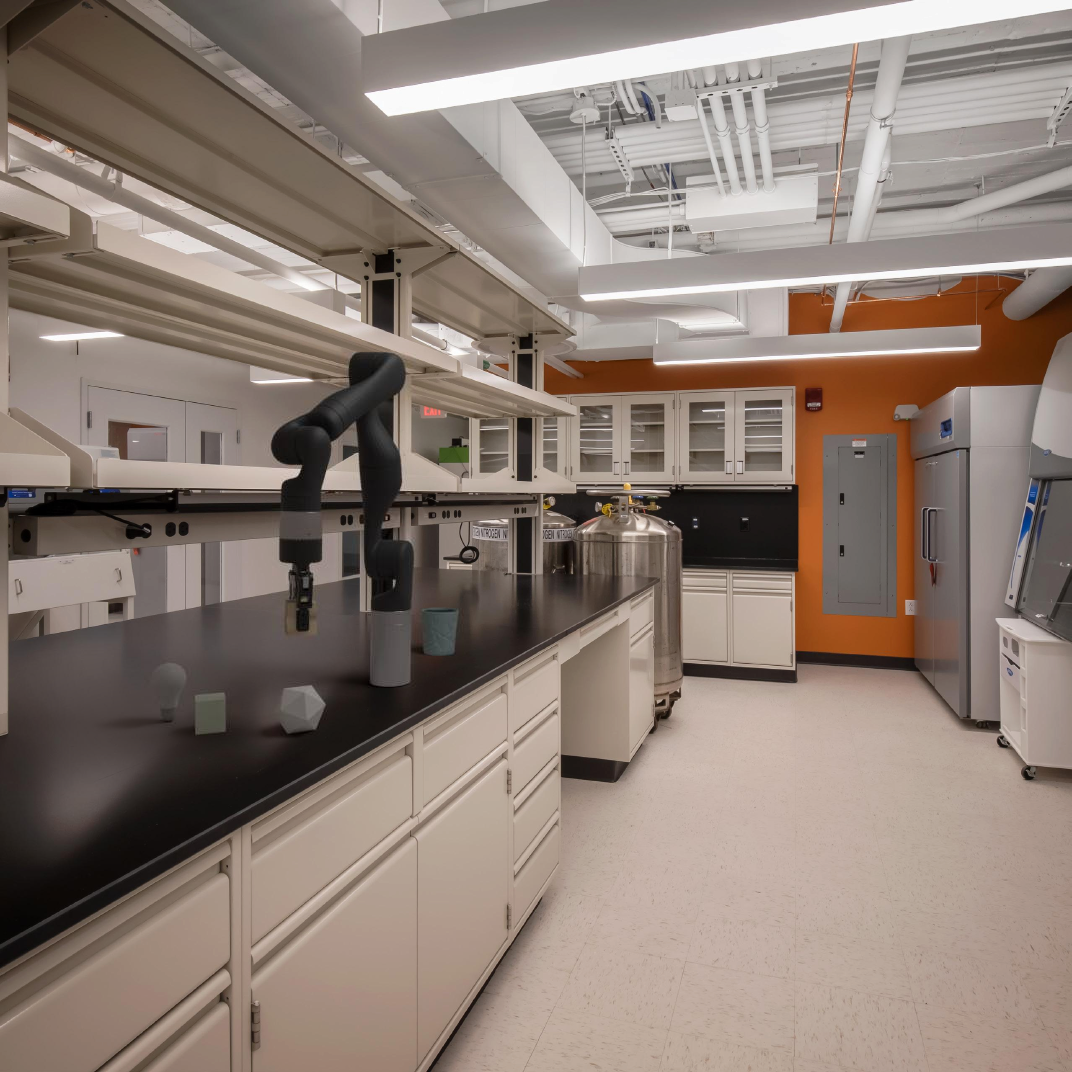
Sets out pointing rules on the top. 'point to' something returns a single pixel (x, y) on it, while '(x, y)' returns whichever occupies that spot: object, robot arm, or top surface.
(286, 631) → the maple block
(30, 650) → the top surface
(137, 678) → the top surface
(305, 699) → the die
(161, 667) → the lightbulb
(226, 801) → the top surface
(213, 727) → the sage block
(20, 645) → the top surface
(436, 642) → the teal plant pot
